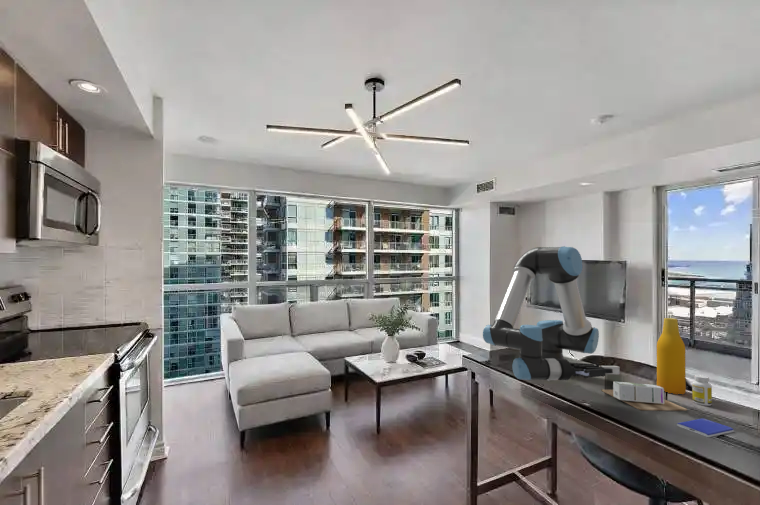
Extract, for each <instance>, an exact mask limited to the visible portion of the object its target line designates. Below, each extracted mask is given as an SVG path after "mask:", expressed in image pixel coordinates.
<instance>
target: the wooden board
mask: <svg viewBox="0 0 760 505" xmlns="http://www.w3.org/2000/svg"><path fill="white" fill-rule="evenodd" d="M601 392H603V393H604V394H607V395H609V396H611V397H613V398H615V397H614V396H613V389H601ZM620 401H621V402H623V403H624V404H628V406H631V407H632V408H635V409H637V410H638V411H676V412H678V411H685V412H686V411H688V409H687V408H685V407H683V406H681V405H678V404H676V403H675V402H674V403H673V402H671V401H669V400H667V399H665V403H664V404H658V403H646V402H635V401H625V400H620Z"/></svg>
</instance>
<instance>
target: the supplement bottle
mask: <svg viewBox="0 0 760 505" xmlns="http://www.w3.org/2000/svg"><path fill="white" fill-rule="evenodd" d="M709 382H710V378H709V377H708V376H706V375H702V374H701V375H700V374H695V375H694V380H693V381H692V382H691V384H692V385H691V386H692V387H691V390H692V391H691V394H692V403H694V404H696V405H700V406H706V407H709V406H710V407H711V406H712V405H713V396H712V395H713V392H712V384H710V383H709Z"/></svg>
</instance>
